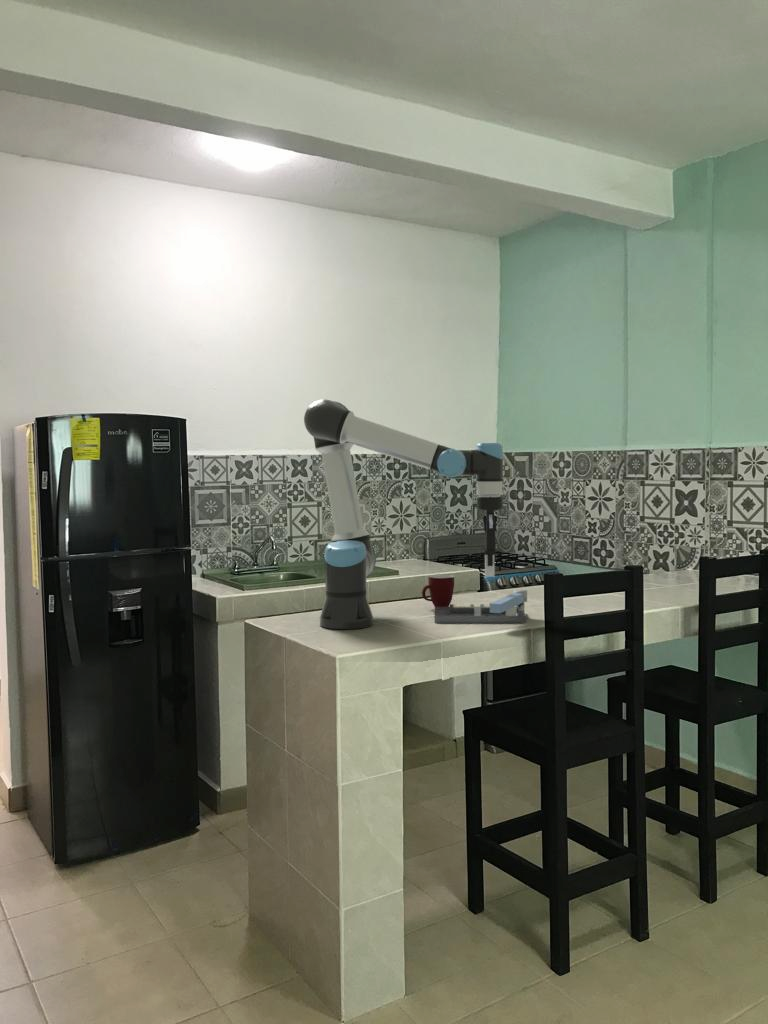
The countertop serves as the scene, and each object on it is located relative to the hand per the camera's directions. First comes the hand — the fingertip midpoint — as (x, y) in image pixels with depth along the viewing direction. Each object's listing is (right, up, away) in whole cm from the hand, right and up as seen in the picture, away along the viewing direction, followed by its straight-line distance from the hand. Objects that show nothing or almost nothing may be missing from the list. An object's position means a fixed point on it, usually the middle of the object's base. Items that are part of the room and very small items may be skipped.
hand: (489, 576), depth 246 cm
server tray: (-3, -12, +1) cm, 13 cm away
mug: (-14, -12, +18) cm, 25 cm away
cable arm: (+4, -8, -9) cm, 12 cm away
